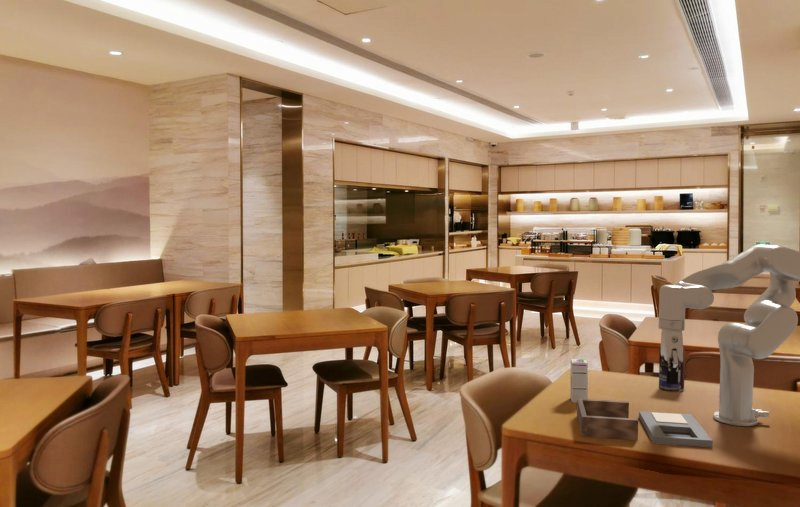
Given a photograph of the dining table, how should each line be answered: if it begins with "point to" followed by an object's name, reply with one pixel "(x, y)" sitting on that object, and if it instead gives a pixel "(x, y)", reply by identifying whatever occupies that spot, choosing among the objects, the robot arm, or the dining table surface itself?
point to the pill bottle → (663, 377)
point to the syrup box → (579, 379)
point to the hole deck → (674, 429)
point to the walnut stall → (606, 419)
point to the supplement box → (680, 370)
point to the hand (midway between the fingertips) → (669, 380)
